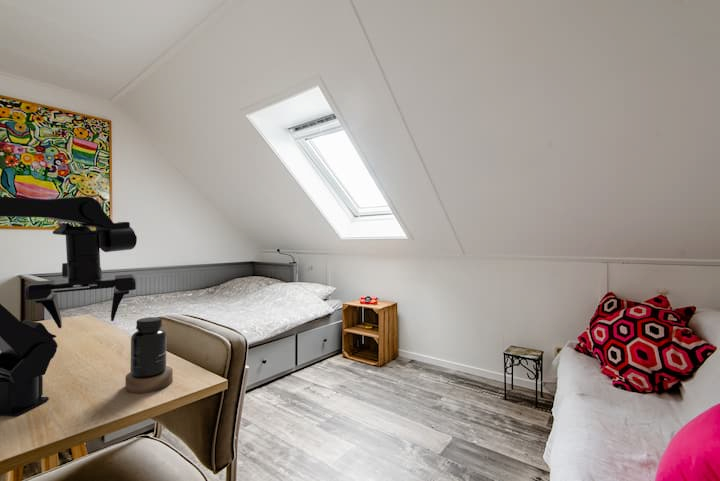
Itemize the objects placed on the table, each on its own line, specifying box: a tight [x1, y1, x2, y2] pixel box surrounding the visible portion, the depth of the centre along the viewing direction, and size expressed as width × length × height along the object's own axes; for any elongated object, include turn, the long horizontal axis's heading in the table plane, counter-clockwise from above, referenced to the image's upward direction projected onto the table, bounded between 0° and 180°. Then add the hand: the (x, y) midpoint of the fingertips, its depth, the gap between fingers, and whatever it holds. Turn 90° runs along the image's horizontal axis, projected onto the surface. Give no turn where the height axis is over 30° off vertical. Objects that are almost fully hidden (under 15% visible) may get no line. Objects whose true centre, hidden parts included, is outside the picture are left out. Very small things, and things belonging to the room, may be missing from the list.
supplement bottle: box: [130, 316, 167, 379], centre depth 79 cm, size 7×7×12 cm
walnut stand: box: [124, 365, 174, 394], centre depth 80 cm, size 9×9×2 cm
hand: (87, 324), depth 80 cm, fingers open, 9 cm apart
